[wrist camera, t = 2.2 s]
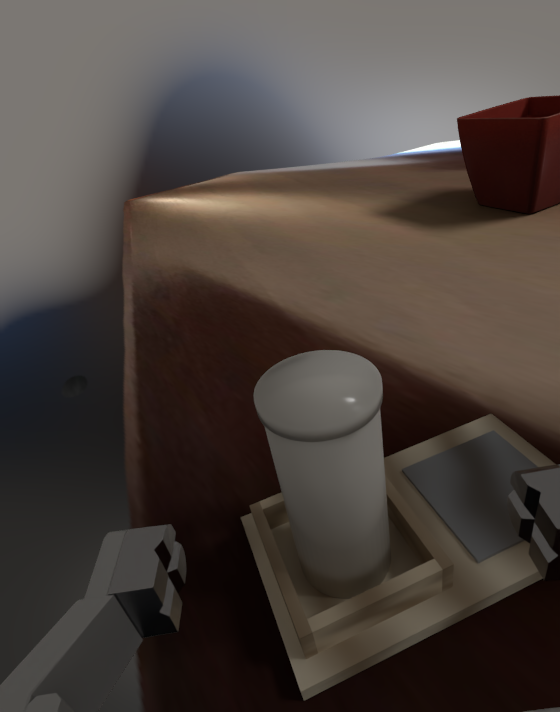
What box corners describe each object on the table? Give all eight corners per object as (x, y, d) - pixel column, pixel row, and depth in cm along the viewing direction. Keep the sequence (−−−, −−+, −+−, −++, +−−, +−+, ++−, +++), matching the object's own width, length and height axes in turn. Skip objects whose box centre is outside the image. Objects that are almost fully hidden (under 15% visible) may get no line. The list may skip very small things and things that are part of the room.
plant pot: (451, 206, 94) (454, 117, 85) (519, 182, 99) (528, 96, 90) (531, 224, 79) (544, 117, 70) (606, 194, 84) (627, 91, 75)
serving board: (490, 423, 41) (493, 391, 39) (627, 534, 31) (640, 499, 29) (243, 526, 37) (233, 496, 35) (303, 700, 26) (293, 671, 24)
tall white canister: (406, 593, 29) (397, 416, 21) (301, 609, 29) (253, 440, 21) (373, 479, 37) (357, 319, 29) (291, 492, 37) (253, 338, 29)
